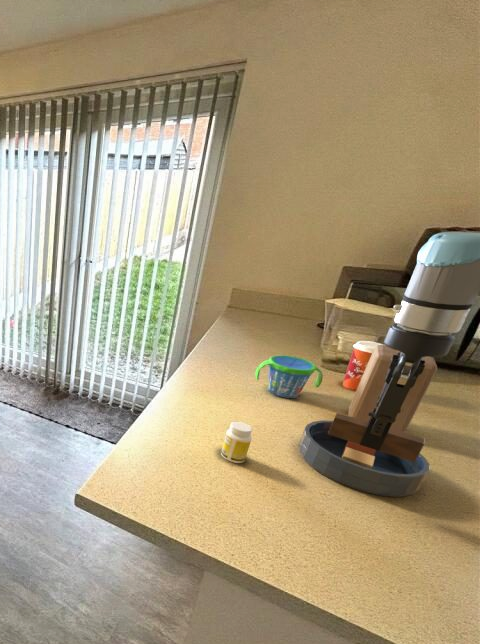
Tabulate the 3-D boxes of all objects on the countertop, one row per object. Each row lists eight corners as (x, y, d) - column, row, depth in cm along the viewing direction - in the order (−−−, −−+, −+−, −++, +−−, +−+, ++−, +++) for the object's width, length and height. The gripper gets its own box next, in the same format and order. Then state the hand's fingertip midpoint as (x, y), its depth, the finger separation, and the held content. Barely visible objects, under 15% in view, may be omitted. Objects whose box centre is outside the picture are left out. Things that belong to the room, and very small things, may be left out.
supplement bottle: (248, 458, 90) (258, 427, 86) (239, 466, 87) (249, 435, 84) (225, 447, 93) (234, 418, 90) (216, 455, 91) (225, 425, 87)
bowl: (419, 467, 86) (431, 447, 84) (414, 514, 74) (427, 491, 72) (307, 429, 99) (314, 411, 97) (288, 464, 88) (295, 444, 85)
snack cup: (253, 395, 116) (262, 364, 112) (248, 380, 124) (257, 351, 120) (320, 407, 109) (333, 374, 105) (310, 390, 118) (321, 360, 114)
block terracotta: (371, 455, 89) (379, 438, 87) (369, 464, 86) (377, 447, 84) (345, 446, 92) (352, 430, 90) (342, 454, 89) (349, 438, 88)
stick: (415, 456, 72) (424, 438, 70) (414, 462, 70) (424, 444, 69) (329, 429, 80) (336, 412, 78) (327, 434, 78) (334, 417, 77)
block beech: (366, 473, 84) (375, 456, 82) (363, 483, 81) (372, 466, 79) (339, 463, 87) (346, 446, 85) (335, 472, 84) (343, 455, 82)
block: (402, 440, 95) (440, 366, 87) (346, 425, 101) (377, 354, 93) (399, 423, 101) (434, 352, 93) (347, 409, 108) (376, 342, 100)
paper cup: (339, 388, 118) (357, 346, 113) (336, 379, 124) (352, 338, 119) (375, 395, 114) (395, 352, 109) (369, 385, 120) (388, 343, 114)
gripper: (394, 313, 73) (349, 420, 82) (388, 334, 64) (338, 452, 73) (456, 322, 68) (400, 434, 77) (459, 346, 58) (395, 471, 68)
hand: (370, 443), depth 75 cm, fingers closed on stick, 2 cm apart
